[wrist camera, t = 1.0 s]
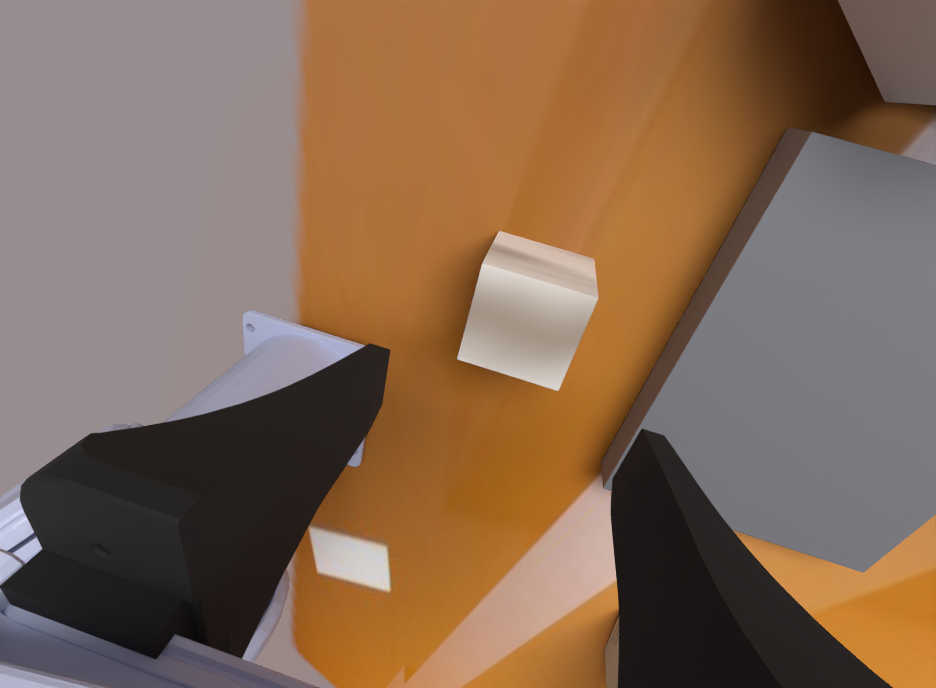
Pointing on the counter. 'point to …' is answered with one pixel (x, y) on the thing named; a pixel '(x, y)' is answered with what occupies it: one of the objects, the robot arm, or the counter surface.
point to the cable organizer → (897, 46)
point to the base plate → (811, 357)
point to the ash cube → (529, 310)
